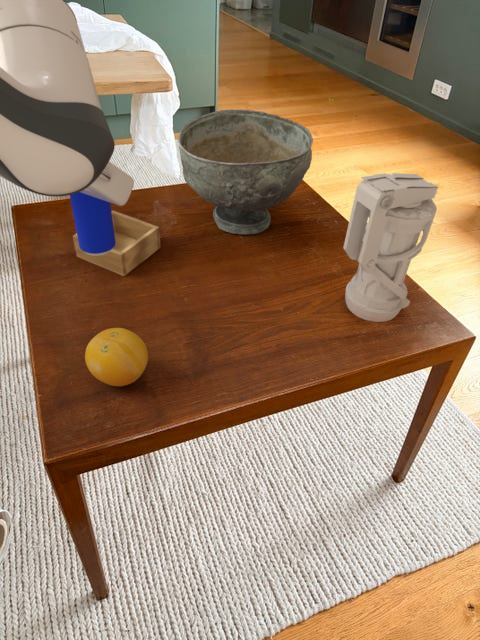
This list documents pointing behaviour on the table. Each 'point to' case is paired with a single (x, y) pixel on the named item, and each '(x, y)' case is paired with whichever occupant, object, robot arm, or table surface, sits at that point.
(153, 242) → the wooden tray
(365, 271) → the lantern
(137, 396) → the table surface
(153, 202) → the table surface
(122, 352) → the fruit
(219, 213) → the decorative bowl
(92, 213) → the beverage can
